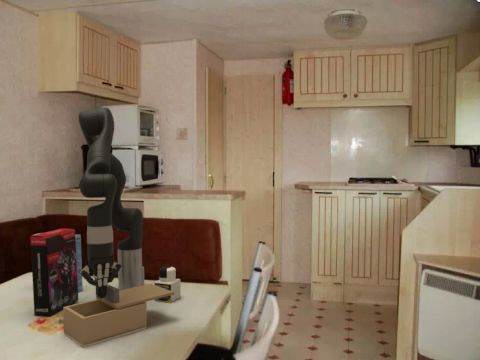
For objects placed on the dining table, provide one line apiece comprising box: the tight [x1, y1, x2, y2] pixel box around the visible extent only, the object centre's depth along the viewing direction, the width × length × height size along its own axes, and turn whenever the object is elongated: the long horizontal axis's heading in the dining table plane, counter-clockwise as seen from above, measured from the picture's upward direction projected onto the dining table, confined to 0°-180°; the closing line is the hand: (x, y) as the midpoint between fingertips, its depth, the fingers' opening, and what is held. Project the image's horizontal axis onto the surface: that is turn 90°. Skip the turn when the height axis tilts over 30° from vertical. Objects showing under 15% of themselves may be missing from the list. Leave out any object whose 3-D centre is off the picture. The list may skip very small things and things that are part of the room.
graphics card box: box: [29, 227, 79, 317], centre depth 152 cm, size 17×7×27 cm, turn 168°
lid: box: [95, 283, 174, 309], centre depth 138 cm, size 20×14×5 cm
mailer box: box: [62, 298, 148, 348], centre depth 131 cm, size 20×14×8 cm
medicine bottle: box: [154, 265, 182, 304], centre depth 162 cm, size 7×7×12 cm
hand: (101, 297), depth 130 cm, fingers closed
